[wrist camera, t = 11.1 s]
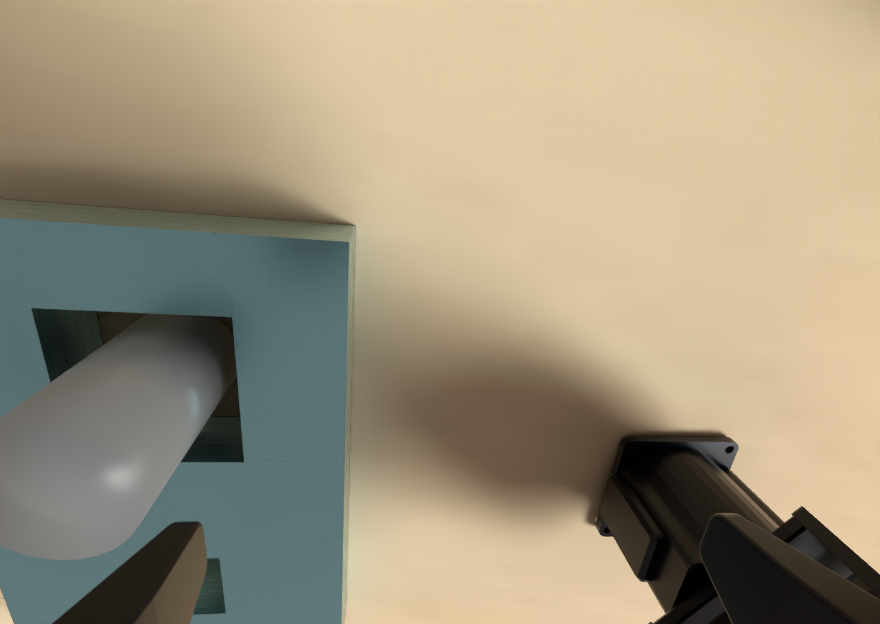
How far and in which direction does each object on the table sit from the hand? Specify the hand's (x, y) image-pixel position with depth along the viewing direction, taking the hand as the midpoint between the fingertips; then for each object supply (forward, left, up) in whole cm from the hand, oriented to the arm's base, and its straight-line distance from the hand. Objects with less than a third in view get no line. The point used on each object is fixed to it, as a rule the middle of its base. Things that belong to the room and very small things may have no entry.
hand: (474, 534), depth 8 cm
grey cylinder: (+10, +3, -12) cm, 16 cm away
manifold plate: (+10, +8, -12) cm, 18 cm away
